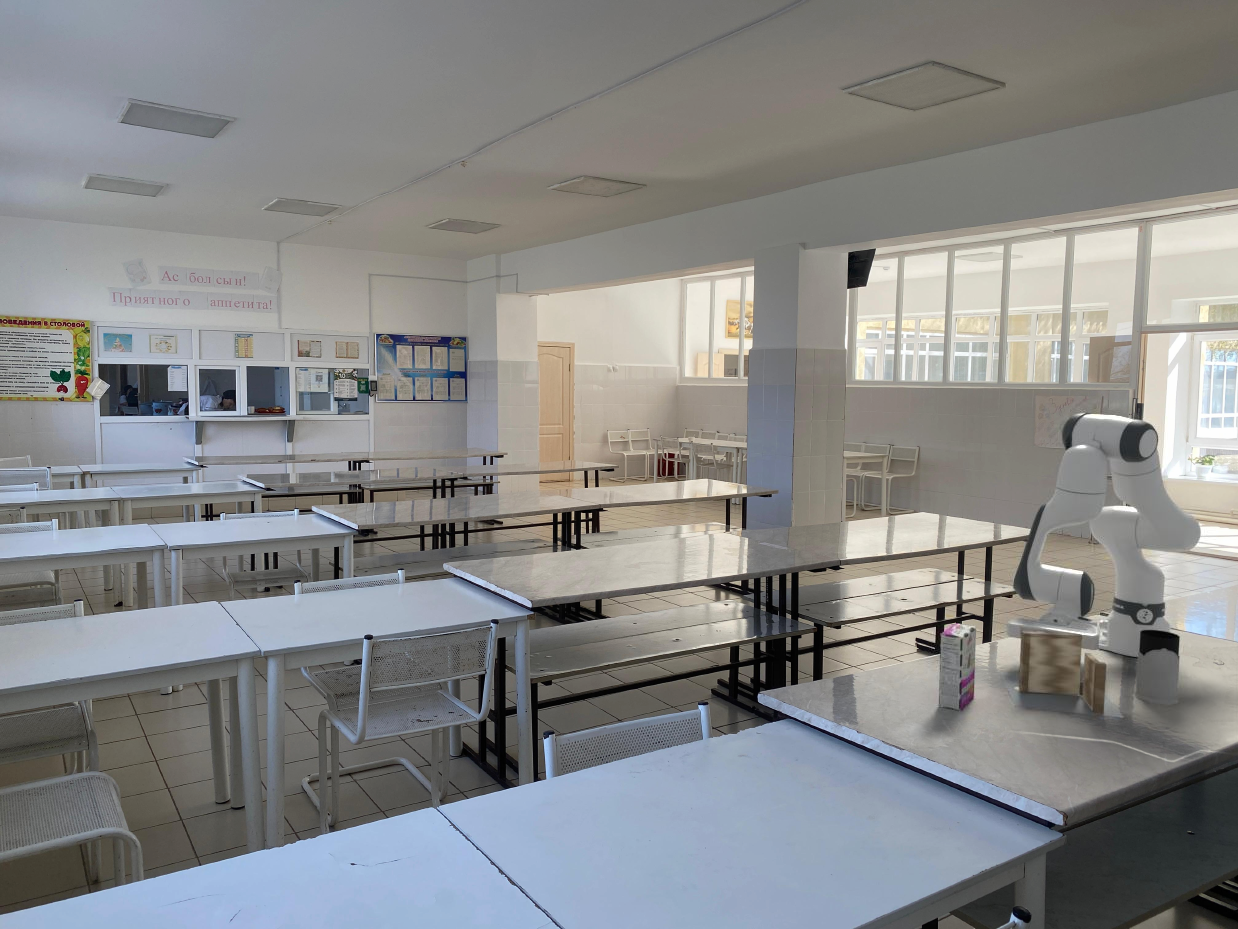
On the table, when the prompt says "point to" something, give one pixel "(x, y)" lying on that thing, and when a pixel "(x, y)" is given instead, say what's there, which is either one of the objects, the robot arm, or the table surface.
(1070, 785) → the table surface
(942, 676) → the candy bar box
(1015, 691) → the card
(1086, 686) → the bar
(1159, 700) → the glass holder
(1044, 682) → the brown wooden panel
